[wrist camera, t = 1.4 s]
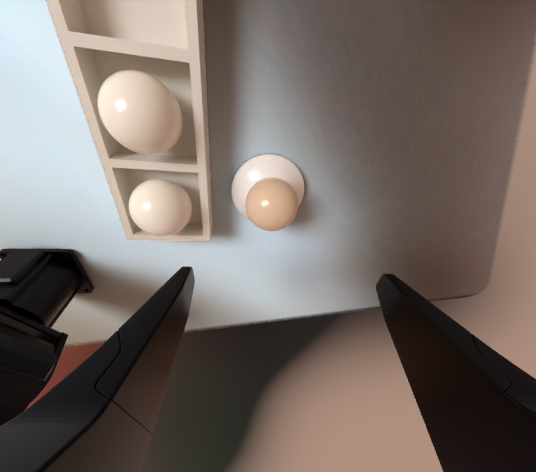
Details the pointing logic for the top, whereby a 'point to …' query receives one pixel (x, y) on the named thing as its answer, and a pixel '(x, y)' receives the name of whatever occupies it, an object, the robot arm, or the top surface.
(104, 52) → the carton
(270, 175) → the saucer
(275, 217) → the brown egg
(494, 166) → the top surface
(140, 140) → the cream egg
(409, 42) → the top surface
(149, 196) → the cream egg
